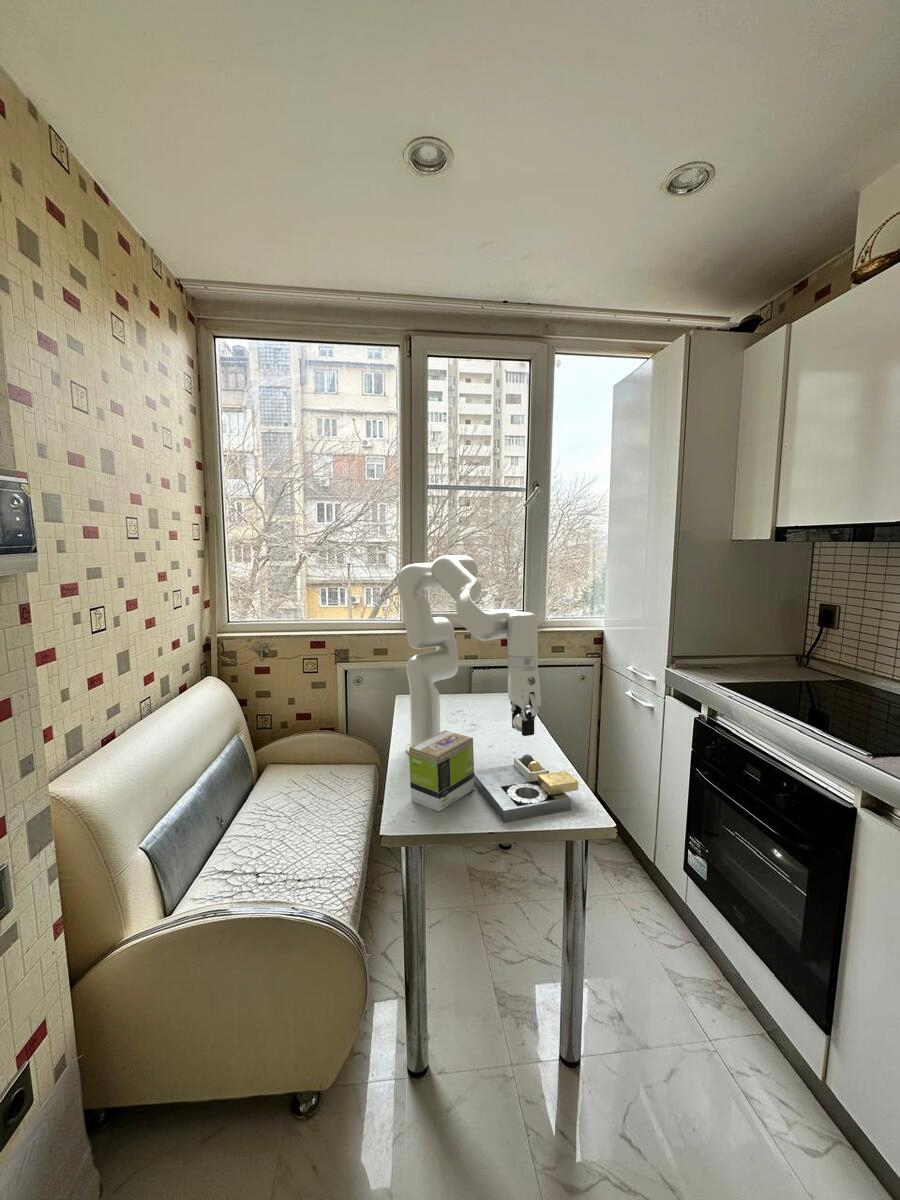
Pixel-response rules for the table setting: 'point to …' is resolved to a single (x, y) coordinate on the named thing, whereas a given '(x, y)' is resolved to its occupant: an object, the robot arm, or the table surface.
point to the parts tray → (529, 775)
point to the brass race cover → (557, 782)
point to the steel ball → (518, 722)
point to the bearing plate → (517, 794)
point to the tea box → (441, 769)
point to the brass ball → (534, 766)
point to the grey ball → (526, 760)
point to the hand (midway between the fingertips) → (523, 730)
